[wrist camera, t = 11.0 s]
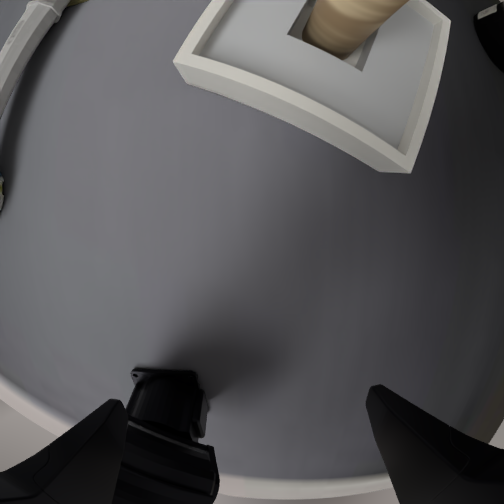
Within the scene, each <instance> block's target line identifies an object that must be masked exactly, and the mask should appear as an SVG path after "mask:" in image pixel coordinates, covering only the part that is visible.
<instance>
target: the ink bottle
mask: <svg viewBox="0 0 504 504" xmlns="http://www.w3.org/2000/svg"><path fill="white" fill-rule="evenodd" d="M474 24H475V28H476V31H477V33H478V36H479V38H480V40H481V42H482V44H483V46H484V48H485V50H486V52H487V53H488V55H489V56H490V58H491V59H492V60H493V62H494V63H495V64H496V65H497V66H498V67H499V68H500V69H501V70H502V71H503V72H504V2H501V3H499V4H496V5H494V6H492V7H489V8H487V9H485V10H483V11H481V12H479V13H477V14H476V15H475V16H474Z"/></svg>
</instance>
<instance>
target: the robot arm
mask: <svg viewBox="0 0 504 504" xmlns="http://www.w3.org/2000/svg"><path fill="white" fill-rule="evenodd" d="M136 374H137V375H136ZM190 376H193V377H190ZM131 377H132V379H133V382H134V384H135V388H134V390H133V392H132V395H131V397H130V400H129V402H128V404H127V407H126V409H125V408H124V406H123V404H122V402H121V401H120V400H117V399H109V400H108V401H106V402H105V403H104V404H103V405H101V406H100V407H99V408H97V409H96V410H95V411H93V412H92V413H91V414H89V415H88V416H87V417H85V418H84V419H83V420H82V421H80V422H79V423H78V424H76V425H75V426H74V427H72V428H71V429H70V430H68V431H67V432H65V433H64V434H63V435H61V436H60V437H59V438H57V439H56V440H55V441H53V442H52V443H50V444H49V445H48V446H46V447H45V448H44V449H42V450H41V451H39V452H38V453H36V454H35V455H33V456H31V457H30V458H28V459H26V460H25V461H23V462H21V463H19V464H17V465H16V466H14V467H12V468H10V469H8V470H6V471H3V472H0V504H213V502H214V501H215V499H216V496H217V494H218V490H219V483H220V479H219V473H218V468H217V463H216V457H215V452H214V447H213V446H210V445H204V444H200V443H198V438H203V437H204V436H205V430H206V421H207V412H208V405H207V401H206V397H205V393H204V391H203V390H202V389H200V386H199V382H198V378H197V374H196V373H195V372H193V371H167V370H143V369H133V370H132V372H131ZM366 408H367V412H368V415H369V419H370V423H371V427H372V430H373V434H374V438H375V441H376V443H377V446H378V448H379V451H380V453H381V456H382V458H383V461H384V463H385V466H386V469H387V471H388V474H389V476H390V479H391V482H392V484H393V487H394V490H395V492H396V495H397V498H398V500H399V503H400V504H504V449H500V448H497V447H494V446H492V445H489V444H487V443H484V442H482V441H479V440H477V439H474V438H472V437H470V436H468V435H466V434H464V433H462V432H460V431H458V430H456V429H454V428H453V427H451V426H450V427H449V425H447V424H446V423H444V422H442V421H441V420H439V419H437V418H435V417H434V416H432V415H430V414H429V413H427V412H425V411H424V410H422V409H420V408H419V407H417V406H415V405H414V404H412V403H411V402H409V401H407V400H406V399H404V398H402V397H401V396H399V395H398V394H396V393H394V392H393V391H391V390H390V389H388V388H386V387H385V386H383V385H381V384H379V385H375V386H371V387H370V389H369V392H368V396H367V399H366Z"/></svg>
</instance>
